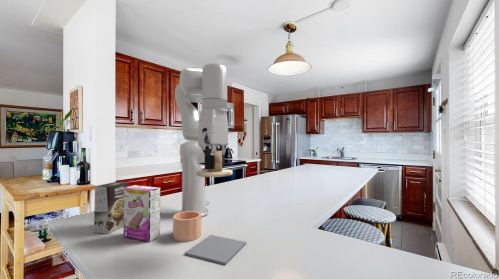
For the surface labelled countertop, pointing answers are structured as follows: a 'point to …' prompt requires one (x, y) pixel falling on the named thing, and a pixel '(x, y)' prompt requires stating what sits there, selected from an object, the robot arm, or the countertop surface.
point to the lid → (218, 168)
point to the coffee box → (109, 207)
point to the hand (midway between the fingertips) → (214, 167)
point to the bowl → (187, 226)
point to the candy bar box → (142, 213)
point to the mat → (216, 249)
